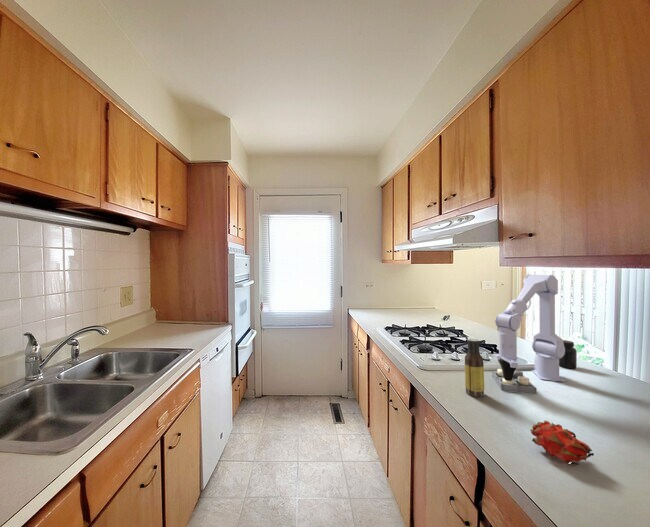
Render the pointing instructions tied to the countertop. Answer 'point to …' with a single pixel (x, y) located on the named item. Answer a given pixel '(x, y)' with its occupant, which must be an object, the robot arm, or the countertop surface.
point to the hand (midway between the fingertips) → (507, 380)
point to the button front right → (507, 381)
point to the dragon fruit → (560, 442)
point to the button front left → (523, 380)
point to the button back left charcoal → (517, 374)
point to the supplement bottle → (569, 356)
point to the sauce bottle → (474, 369)
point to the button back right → (500, 372)
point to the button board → (514, 385)
